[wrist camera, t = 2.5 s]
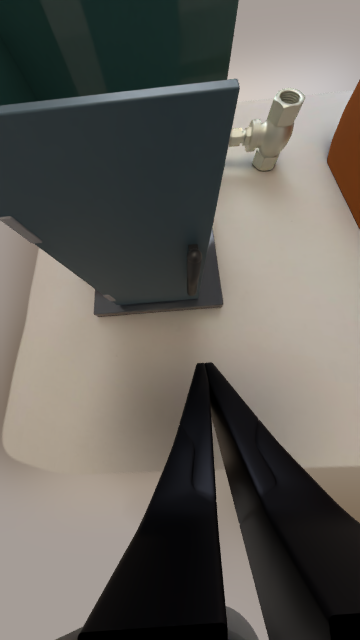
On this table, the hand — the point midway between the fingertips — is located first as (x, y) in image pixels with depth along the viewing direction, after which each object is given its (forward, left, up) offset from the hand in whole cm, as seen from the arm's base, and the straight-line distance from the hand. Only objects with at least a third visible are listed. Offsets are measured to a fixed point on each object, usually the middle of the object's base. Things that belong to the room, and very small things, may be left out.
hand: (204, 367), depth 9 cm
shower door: (+6, +5, -9) cm, 12 cm away
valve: (+32, -5, -10) cm, 34 cm away
